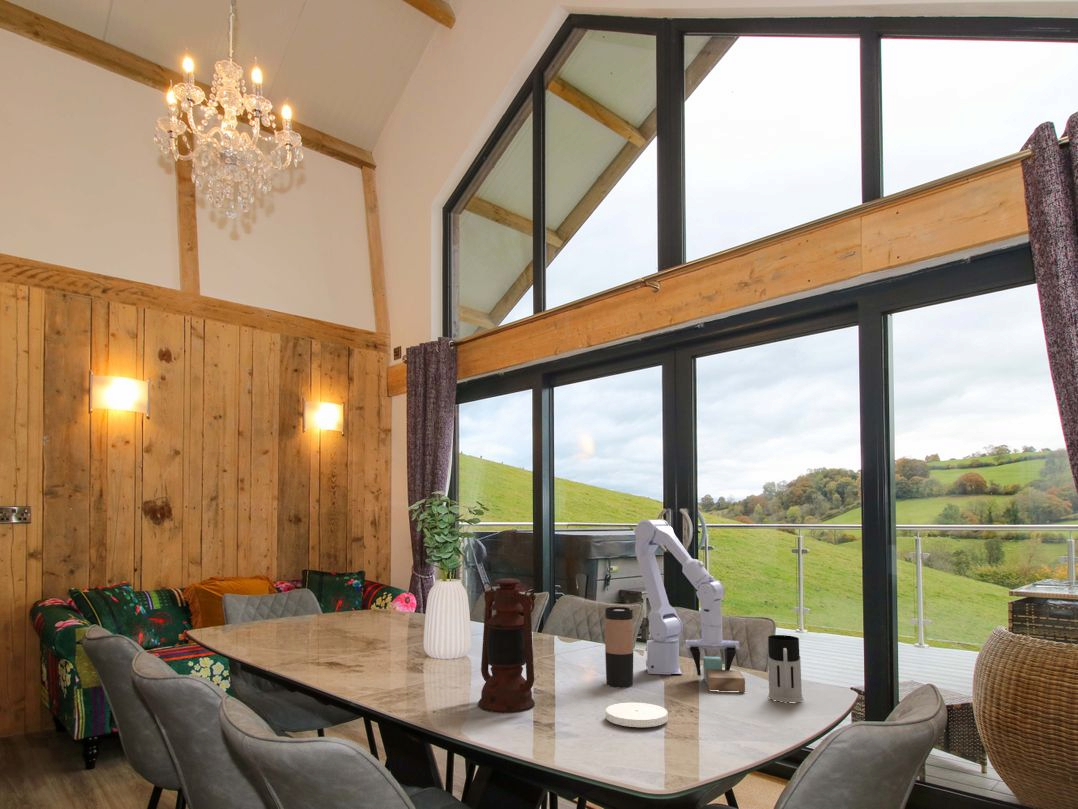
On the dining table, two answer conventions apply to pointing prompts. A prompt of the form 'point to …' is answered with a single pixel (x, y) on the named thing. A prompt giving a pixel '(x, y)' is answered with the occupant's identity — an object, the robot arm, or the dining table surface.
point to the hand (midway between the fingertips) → (712, 675)
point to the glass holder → (784, 668)
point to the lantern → (507, 649)
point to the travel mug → (619, 646)
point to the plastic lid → (636, 714)
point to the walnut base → (725, 680)
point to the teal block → (711, 664)
